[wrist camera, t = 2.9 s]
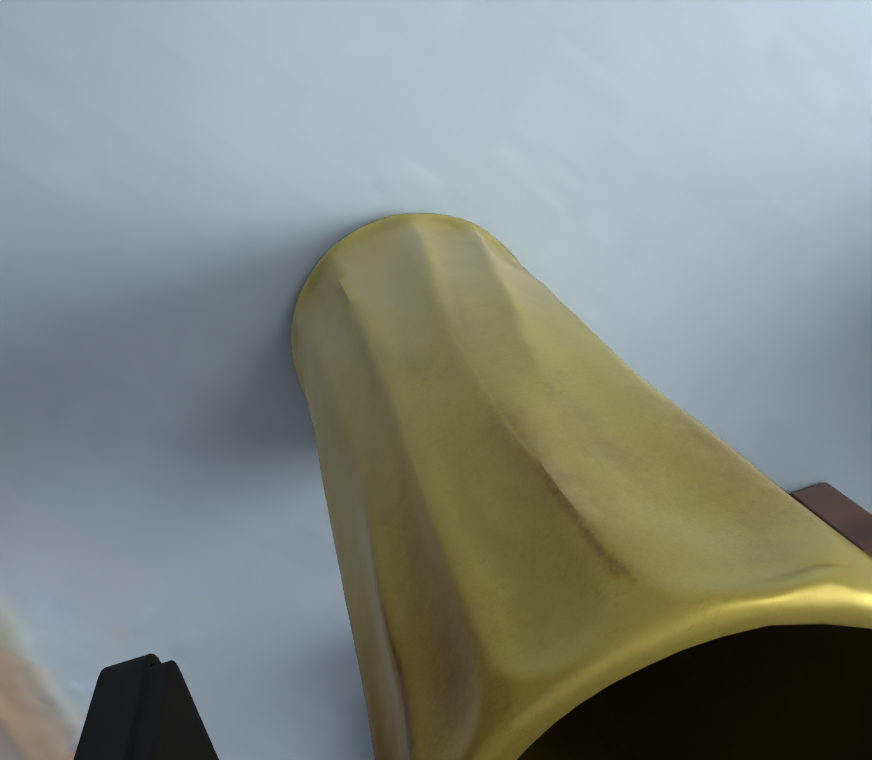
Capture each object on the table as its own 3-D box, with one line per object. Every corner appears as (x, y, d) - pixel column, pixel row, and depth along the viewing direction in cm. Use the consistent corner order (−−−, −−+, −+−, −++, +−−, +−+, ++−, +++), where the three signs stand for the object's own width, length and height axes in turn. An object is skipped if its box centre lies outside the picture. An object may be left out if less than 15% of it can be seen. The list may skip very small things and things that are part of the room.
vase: (562, 389, 21) (1076, 918, 7) (351, 483, 20) (502, 1203, 7) (488, 169, 18) (1055, 389, 5) (246, 273, 18) (185, 788, 5)
